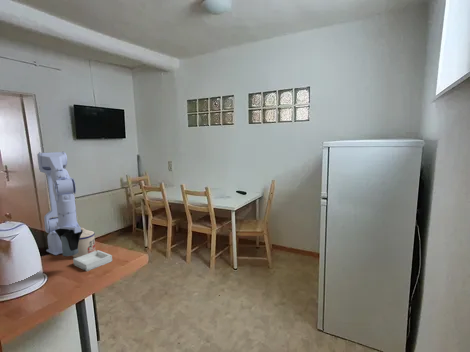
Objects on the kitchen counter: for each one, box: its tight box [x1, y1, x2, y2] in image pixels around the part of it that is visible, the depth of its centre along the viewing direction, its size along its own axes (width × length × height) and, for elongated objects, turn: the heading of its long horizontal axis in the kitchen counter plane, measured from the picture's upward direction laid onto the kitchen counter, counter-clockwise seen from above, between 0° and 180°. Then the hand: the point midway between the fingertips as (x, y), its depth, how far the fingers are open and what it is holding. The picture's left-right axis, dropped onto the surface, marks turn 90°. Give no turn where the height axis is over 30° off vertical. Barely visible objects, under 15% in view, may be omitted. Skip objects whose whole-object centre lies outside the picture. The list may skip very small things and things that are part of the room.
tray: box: [72, 249, 113, 272], centre depth 104 cm, size 10×10×2 cm
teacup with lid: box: [72, 227, 97, 259], centre depth 114 cm, size 12×9×12 cm
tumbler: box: [61, 235, 79, 257], centre depth 97 cm, size 5×5×7 cm
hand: (70, 248), depth 97 cm, fingers closed on tumbler, 5 cm apart
